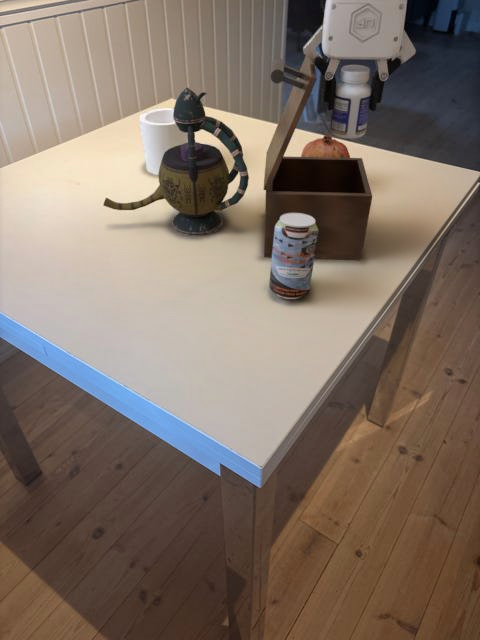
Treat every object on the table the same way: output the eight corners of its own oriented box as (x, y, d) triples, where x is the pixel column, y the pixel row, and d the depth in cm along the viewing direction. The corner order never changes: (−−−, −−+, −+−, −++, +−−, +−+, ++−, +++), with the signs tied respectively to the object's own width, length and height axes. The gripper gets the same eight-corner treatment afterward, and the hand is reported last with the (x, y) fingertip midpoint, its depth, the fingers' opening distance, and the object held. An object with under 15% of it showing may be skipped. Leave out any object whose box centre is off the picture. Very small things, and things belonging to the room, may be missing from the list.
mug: (153, 150, 114) (147, 103, 107) (196, 150, 114) (193, 103, 107) (142, 175, 104) (134, 125, 97) (189, 176, 104) (185, 125, 97)
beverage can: (265, 302, 72) (267, 231, 64) (274, 273, 77) (277, 204, 69) (307, 308, 70) (315, 236, 62) (314, 278, 76) (322, 209, 68)
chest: (352, 217, 90) (362, 157, 82) (360, 260, 79) (372, 196, 72) (266, 215, 91) (268, 156, 83) (264, 257, 80) (265, 193, 73)
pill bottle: (360, 126, 75) (370, 62, 69) (369, 139, 71) (380, 73, 65) (326, 127, 75) (333, 63, 69) (333, 140, 71) (341, 74, 65)
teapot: (249, 237, 85) (250, 97, 70) (104, 245, 84) (72, 104, 68) (242, 204, 94) (241, 74, 79) (112, 211, 93) (85, 79, 77)
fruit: (358, 187, 99) (366, 138, 92) (323, 202, 94) (329, 151, 88) (320, 170, 105) (325, 122, 99) (286, 183, 101) (289, 134, 94)
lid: (312, 52, 72) (279, 37, 71) (317, 78, 62) (277, 62, 61) (270, 154, 83) (241, 142, 82) (268, 191, 73) (234, 179, 72)
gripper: (301, -46, 56) (291, 115, 68) (452, -46, 55) (415, 117, 67) (300, -52, 62) (291, 98, 74) (437, -52, 61) (406, 100, 73)
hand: (350, 106), depth 71 cm, fingers closed on pill bottle, 5 cm apart
